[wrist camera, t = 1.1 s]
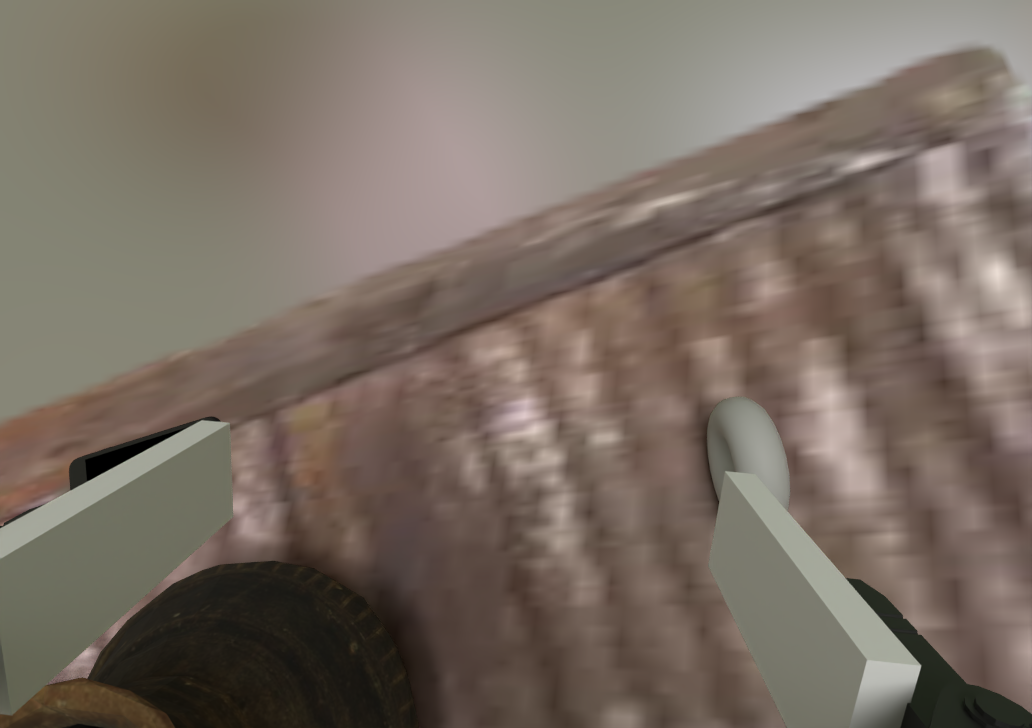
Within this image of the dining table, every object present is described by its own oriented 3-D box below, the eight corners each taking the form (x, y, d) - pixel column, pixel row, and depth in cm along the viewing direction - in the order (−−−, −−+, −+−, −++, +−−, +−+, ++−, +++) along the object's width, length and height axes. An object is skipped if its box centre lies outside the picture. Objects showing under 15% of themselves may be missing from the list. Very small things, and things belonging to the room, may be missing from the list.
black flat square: (234, 491, 51) (227, 491, 50) (79, 539, 51) (70, 540, 50) (223, 413, 53) (217, 412, 52) (75, 460, 53) (66, 459, 52)
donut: (763, 531, 44) (813, 536, 35) (718, 535, 44) (755, 541, 35) (736, 406, 47) (775, 379, 37) (694, 412, 47) (722, 386, 38)
